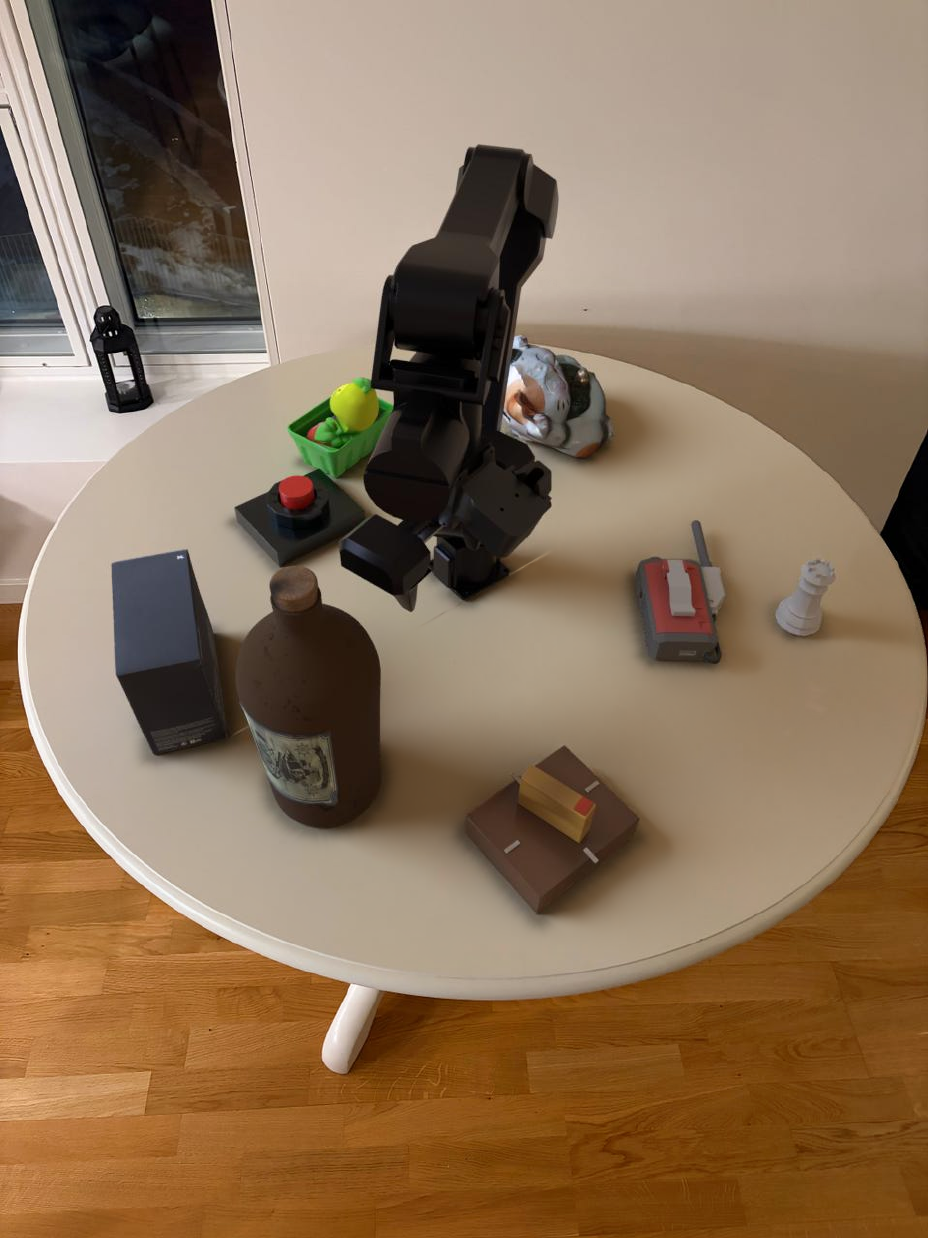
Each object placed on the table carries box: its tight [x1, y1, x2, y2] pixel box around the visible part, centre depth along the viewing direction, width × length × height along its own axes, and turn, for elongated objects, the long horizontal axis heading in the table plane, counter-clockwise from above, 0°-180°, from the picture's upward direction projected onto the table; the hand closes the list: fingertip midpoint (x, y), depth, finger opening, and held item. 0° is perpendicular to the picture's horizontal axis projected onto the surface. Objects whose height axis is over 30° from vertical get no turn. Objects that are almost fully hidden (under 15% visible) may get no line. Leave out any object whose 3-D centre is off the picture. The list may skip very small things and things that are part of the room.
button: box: [279, 474, 315, 509], centre depth 96 cm, size 4×4×2 cm
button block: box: [233, 468, 366, 568], centre depth 98 cm, size 11×9×4 cm
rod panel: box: [464, 744, 641, 915], centre depth 74 cm, size 11×10×3 cm
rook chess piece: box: [775, 557, 837, 637], centre depth 89 cm, size 4×4×8 cm
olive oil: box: [235, 565, 382, 828], centre depth 69 cm, size 11×11×25 cm
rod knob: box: [518, 764, 596, 843], centre depth 71 cm, size 6×2×4 cm, turn 53°
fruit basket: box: [286, 376, 393, 479], centre depth 104 cm, size 11×9×11 cm
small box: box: [110, 548, 229, 756], centre depth 80 cm, size 13×7×12 cm, turn 16°
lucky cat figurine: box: [502, 334, 615, 459], centre depth 107 cm, size 15×12×14 cm
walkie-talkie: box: [634, 519, 726, 666], centre depth 92 cm, size 9×4×20 cm
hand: (441, 577), depth 78 cm, fingers open, 9 cm apart
